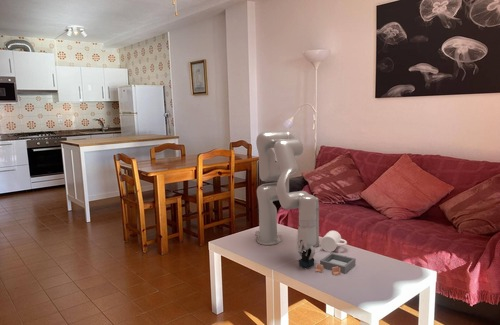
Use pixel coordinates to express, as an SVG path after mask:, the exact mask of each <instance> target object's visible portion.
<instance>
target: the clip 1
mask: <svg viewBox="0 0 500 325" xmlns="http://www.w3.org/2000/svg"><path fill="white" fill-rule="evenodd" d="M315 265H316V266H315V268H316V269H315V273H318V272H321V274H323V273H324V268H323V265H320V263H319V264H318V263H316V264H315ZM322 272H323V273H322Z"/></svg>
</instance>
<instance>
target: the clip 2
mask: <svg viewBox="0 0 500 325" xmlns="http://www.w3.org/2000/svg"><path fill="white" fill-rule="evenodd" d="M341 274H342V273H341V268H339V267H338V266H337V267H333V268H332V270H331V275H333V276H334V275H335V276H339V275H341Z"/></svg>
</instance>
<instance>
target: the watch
mask: <svg viewBox="0 0 500 325" xmlns="http://www.w3.org/2000/svg"><path fill="white" fill-rule="evenodd" d="M304 248H305V247H304ZM310 249H311V254H310V257H309V264H307V262H303V261H302V255H301V253H300V252H299V248H298V247H297V251H298V252H297V253H298V254H299V257H301V258H300V259H299V260H298V261H299V262H298V263H299V264H298V266H299V267H300V268H303V269H305V268H306V269H305V270H308V269H310V268H312V267H314V266H315V258H314V257H315V254H316V252H315V251H316V250H315V247H313V245H312V246H311V247H310ZM312 258H313V259H312ZM310 259H311V260H310Z"/></svg>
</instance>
